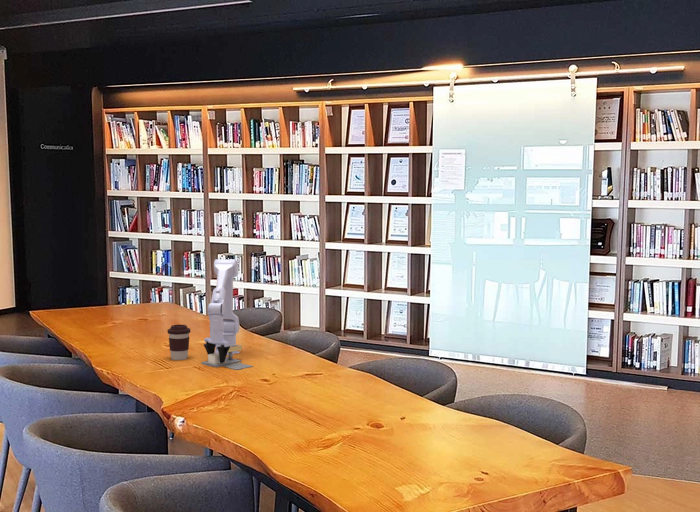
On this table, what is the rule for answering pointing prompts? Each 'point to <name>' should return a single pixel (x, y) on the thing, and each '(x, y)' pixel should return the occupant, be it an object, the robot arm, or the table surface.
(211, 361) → the white rectangular block
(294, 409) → the table surface
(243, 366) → the mat
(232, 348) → the tan rectangular bar
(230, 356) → the panel
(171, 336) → the coffee cup
